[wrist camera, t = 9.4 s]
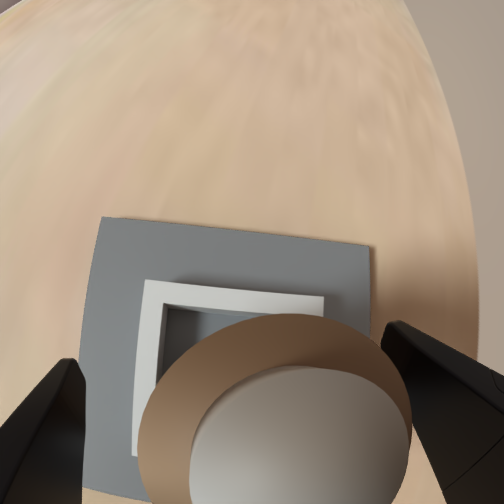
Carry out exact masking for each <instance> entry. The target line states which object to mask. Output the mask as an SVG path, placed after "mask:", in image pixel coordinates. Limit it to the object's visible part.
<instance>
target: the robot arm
mask: <svg viewBox="0 0 504 504" xmlns="http://www.w3.org/2000/svg"><path fill="white" fill-rule="evenodd" d="M381 349H382V350H383V351H384V352H385V354H386V355H387V356H388V357H389V358H390V360H391V361H392V362H393V364H394V365H395V367H396V368H397V370H398V372H399V374H400V376H401V378H402V380H403V382H404V384H405V387H406V390H407V393H408V396H409V401H410V406H411V411H412V424H413V426H414V428H415V430H416V433H417V435H418V437H419V439H420V441H421V444H422V446H423V448H424V450H425V453H426V455H427V457H428V459H429V462H430V464H431V466H432V469H433V471H434V473H435V476H436V478H437V481H438V483H439V485H440V488H441V490H442V493H443V496H444V498H445V501H446V503H447V504H504V376H503V375H501V374H499V373H497V372H495V371H494V370H491V369H489V368H488V367H486V366H484V365H483V364H481V363H479V362H477V361H475V360H473V359H472V358H470V357H468V356H466V355H464V354H462V353H460V352H459V351H457V350H455V349H453V348H451V347H449V346H448V345H446V344H444V343H442V342H440V341H438V340H436V339H434V338H433V337H431V336H429V335H427V334H425V333H423V332H421V331H420V330H418V329H416V328H414V327H412V326H410V325H408V324H406V323H405V322H403V321H401V320H397V321H392V322H389V323H388V324H387V325H386V328H385V331H384V334H383V337H382V340H381ZM85 435H86V380H85V377H84V375H83V373H82V371H81V369H80V367H79V365H78V363H77V361H76V360H75V359H73V358H63V359H61V360H59V362H58V363H57V364H56V365H55V366H54V367H53V368H52V369H51V370H50V371H49V372H48V373H47V375H46V376H45V377H44V378H43V379H42V380H41V381H40V382H39V383H38V385H37V386H36V387H35V388H34V389H33V390H32V391H31V392H30V393H29V395H28V396H27V397H26V398H25V399H24V400H23V401H22V403H21V404H20V405H19V406H18V407H17V408H16V410H15V411H14V412H13V413H12V414H11V415H10V417H9V418H8V419H7V420H6V421H5V422H4V424H3V425H2V426H1V427H0V504H82V479H83V461H84V448H85Z"/></svg>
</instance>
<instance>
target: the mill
mask: <svg viewBox="0 0 504 504" xmlns="http://www.w3.org/2000/svg"><path fill="white" fill-rule="evenodd" d="M411 437H412V411H411V406H410V401H409V396H408V393H407V390H406V387H405V384H404V382H403V380H402V378H401V376H400V374H399V372H398V370H397V368H396V367H395V365H394V364H393V362H392V361H391V360H390V358H389V357H388V356H387V355H386V354H385V352H384V351H383V350H382V349H381V348H380V347H379V346H378V345H377V344H375V343H374V342H373V341H372V340H370V339H369V338H368V337H367V336H365V335H364V334H362V333H360V332H359V331H357V330H355V329H354V328H352V327H350V326H348V325H345V324H343V323H340V322H338V321H336V320H332V319H328V318H324V317H321V316H315V315H308V314H294V313H281V314H273V315H265V316H259V317H255V318H251V319H247V320H243V321H240V322H238V323H235V324H232V325H230V326H227V327H225V328H222V329H220V330H219V331H217V332H215V333H213V334H211V335H209V336H207V337H205V338H204V339H202V340H201V341H200V342H198V343H197V344H195V345H194V346H193V347H191V348H190V349H188V350H187V351H186V352H185V353H184V354H183V355H182V356H181V357H180V358H179V359H178V360H176V361H175V362H174V363H173V364H172V366H171V367H170V368H169V369H168V370H167V372H166V373H165V374H164V375H163V376H162V378H161V379H160V381H159V382H158V384H157V385H156V387H155V389H154V390H153V392H152V394H151V395H150V398H149V400H148V402H147V405H146V407H145V409H144V412H143V415H142V419H141V423H140V427H139V431H138V442H137V455H138V466H139V471H140V475H141V479H142V482H143V485H144V487H145V490H146V492H147V494H148V497H149V498H150V500H151V502H152V503H153V504H391V503H392V502H393V500H394V498H395V497H396V495H397V493H398V491H399V489H400V487H401V484H402V482H403V479H404V476H405V473H406V468H407V464H408V456H409V450H410V445H411Z"/></svg>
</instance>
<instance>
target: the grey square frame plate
mask: <svg viewBox="0 0 504 504" xmlns="http://www.w3.org/2000/svg"><path fill="white" fill-rule="evenodd" d="M281 313H294V314H308V315H315V316H321V317H324V318H328V319H332V320H336V321H338V322H340V323H343V324H345V325H348V326H350V327H352V328H354V329H355V330H357V331H359V332H360V333H362V334H364V335H365V336H367V337H368V338H369V339H370V261H369V246H362V245H355V244H347V243H339V242H331V241H323V240H315V239H307V238H299V237H290V236H282V235H273V234H265V233H256V232H247V231H239V230H230V229H221V228H211V227H202V226H193V225H183V224H173V223H164V222H154V221H144V220H133V219H123V218H112V217H102V218H101V222H100V226H99V231H98V235H97V240H96V245H95V249H94V254H93V259H92V265H91V270H90V276H89V281H88V288H87V294H86V300H85V307H84V315H83V323H82V331H81V340H80V351H79V363H78V365H79V367H80V369H81V371H82V373H83V375H84V377H85V380H86V435H85V448H84V461H83V479H82V487H85V488H88V489H92V490H96V491H100V492H103V493H108V494H112V495H116V496H121V497H125V498H130V499H135V500H141V501H146V502H151V500H150V498H149V497H148V494H147V492H146V490H145V487H144V485H143V482H142V479H141V475H140V471H139V466H138V455H137V442H138V431H139V427H140V423H141V419H142V415H143V412H144V409H145V407H146V405H147V402H148V400H149V398H150V395H151V394H152V392H153V390H154V389H155V387H156V385H157V384H158V382H159V381H160V379H161V378H162V376H163V375H164V374H165V373H166V372H167V370H168V369H169V368H170V367H171V366H172V364H173V363H174V362H175V361H176V360H178V359H179V358H180V357H181V356H182V355H183V354H184V353H185V352H186V351H187V350H188V349H190V348H191V347H193V346H194V345H195V344H197V343H198V342H200V341H201V340H202V339H204V338H205V337H207V336H209V335H211V334H213V333H215V332H217V331H219V330H220V329H222V328H225V327H227V326H230V325H232V324H235V323H238V322H240V321H243V320H247V319H251V318H255V317H259V316H265V315H273V314H281Z"/></svg>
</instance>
